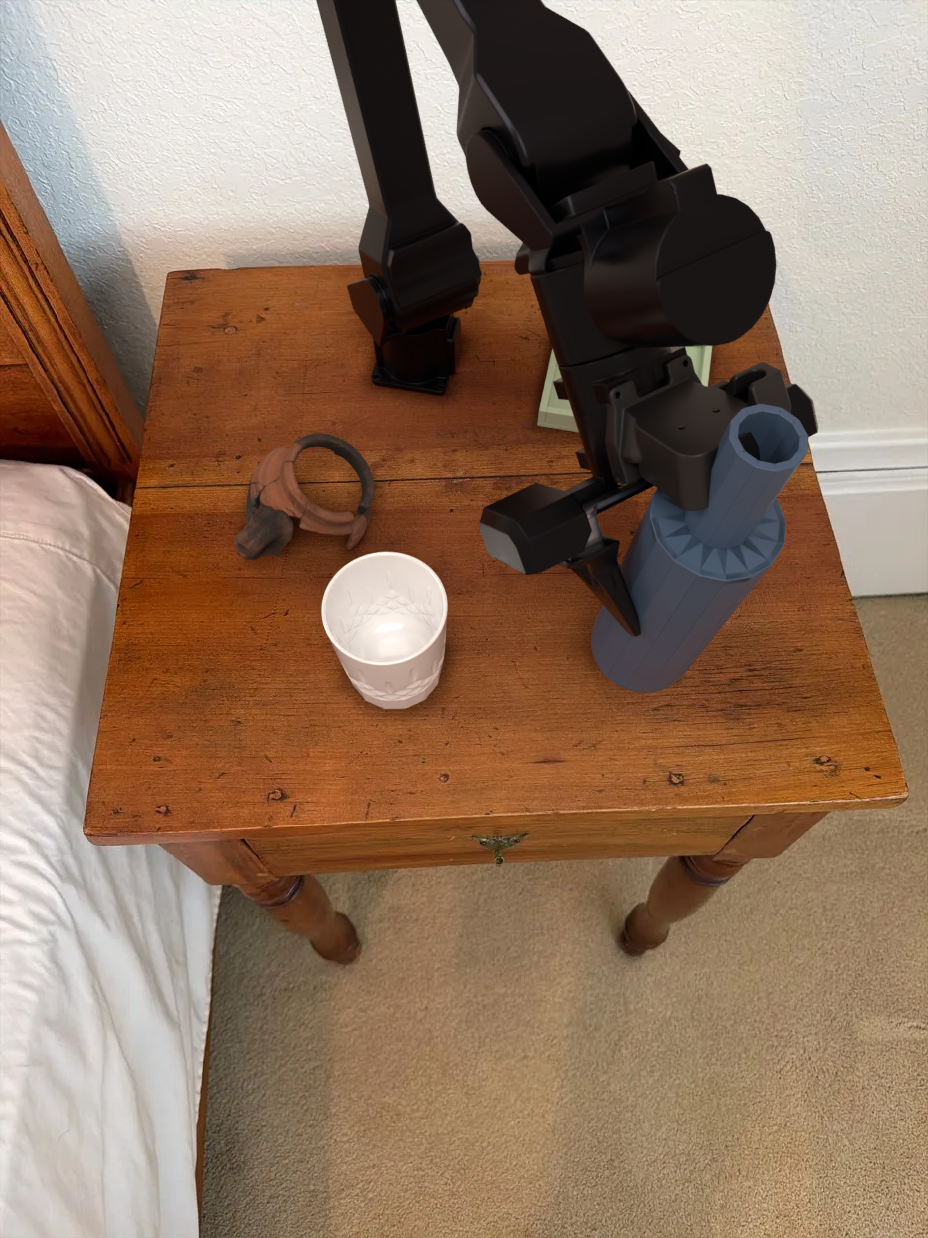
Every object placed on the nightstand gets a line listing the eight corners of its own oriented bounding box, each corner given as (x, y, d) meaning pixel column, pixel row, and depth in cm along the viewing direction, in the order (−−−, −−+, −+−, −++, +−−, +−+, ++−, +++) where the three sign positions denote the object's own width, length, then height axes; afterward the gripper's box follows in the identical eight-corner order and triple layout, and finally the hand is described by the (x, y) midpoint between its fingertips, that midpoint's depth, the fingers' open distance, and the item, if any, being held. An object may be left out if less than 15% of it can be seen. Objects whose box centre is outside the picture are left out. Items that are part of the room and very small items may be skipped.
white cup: (437, 728, 62) (432, 675, 53) (329, 706, 63) (306, 651, 54) (460, 628, 65) (459, 562, 56) (357, 609, 66) (339, 541, 57)
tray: (537, 425, 73) (538, 410, 72) (558, 325, 78) (560, 308, 76) (696, 452, 72) (702, 437, 70) (708, 348, 77) (713, 332, 75)
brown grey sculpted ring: (278, 454, 73) (316, 399, 66) (364, 532, 74) (409, 485, 68) (184, 543, 66) (216, 491, 59) (282, 627, 67) (324, 585, 61)
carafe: (583, 681, 59) (682, 486, 37) (598, 590, 61) (698, 359, 39) (684, 702, 58) (845, 520, 36) (695, 611, 61) (850, 389, 39)
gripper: (518, 429, 36) (622, 735, 42) (870, 265, 40) (920, 567, 46) (432, 414, 46) (526, 663, 52) (721, 284, 50) (778, 530, 56)
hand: (685, 606), depth 52 cm, fingers closed on carafe, 7 cm apart
